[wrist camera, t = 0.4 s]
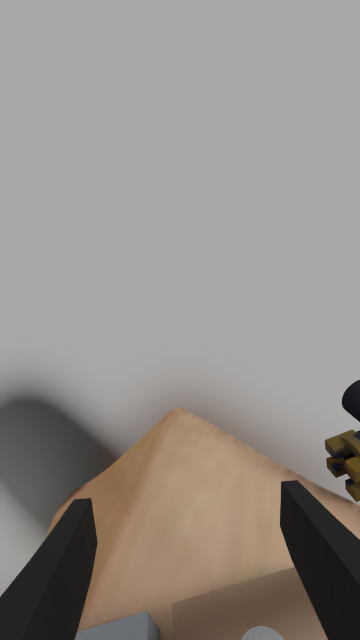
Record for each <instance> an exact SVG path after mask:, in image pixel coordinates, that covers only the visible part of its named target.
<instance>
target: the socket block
mask: <svg viewBox="0 0 360 640" xmlns="http://www.w3.org/2000/svg"><path fill="white" fill-rule="evenodd" d="M173 619H174V636H175V640H241V639H242V637H243V636H244V634H245V633H246V632H247V631H248V630H250V629H251V628H254V627H257V626H265V627H269V628H271V629H273V630H275V631H276V632H277V633H279V634H280V635H281V636H282V637H283V638H284V639H285V640H328V639H327V637H326V634H325V632H324V630H323V628H322V626H321V623H320V621H319V619H318V617H317V615H316V612H315V610H314V608H313V606H312V604H311V601H310V599H309V597H308V595H307V593H306V590H305V588H304V586H303V584H302V581H301V579H300V577H299V575H298V572H297V570H296V568H295V567H294V568H291V569H288V570H284V571H281V572H277V573H274V574H271V575H267V576H264V577H261V578H257V579H254V580H250V581H247V582H244V583H240V584H237V585H234V586H230V587H227V588H224V589H220V590H217V591H213V592H210V593H207V594H203V595H200V596H197V597H193V598H190V599H186V600H183V601H180V602H176V603H173Z"/></svg>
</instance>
